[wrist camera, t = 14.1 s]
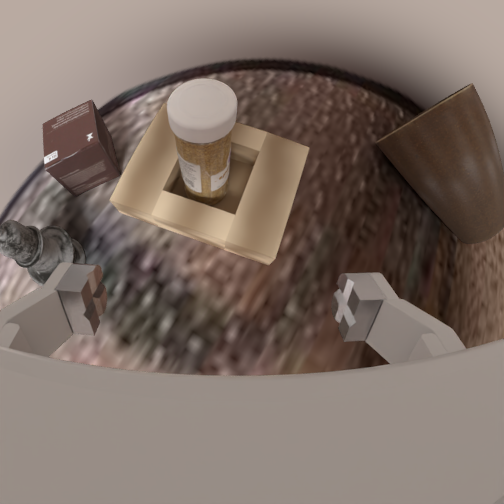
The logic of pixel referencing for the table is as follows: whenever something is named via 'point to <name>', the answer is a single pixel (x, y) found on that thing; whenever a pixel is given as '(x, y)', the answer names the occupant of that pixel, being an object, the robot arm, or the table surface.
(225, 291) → the table surface
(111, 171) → the box
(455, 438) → the robot arm
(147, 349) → the table surface
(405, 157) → the plant pot
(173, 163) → the holder
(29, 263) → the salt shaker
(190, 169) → the sprinkles bottle
